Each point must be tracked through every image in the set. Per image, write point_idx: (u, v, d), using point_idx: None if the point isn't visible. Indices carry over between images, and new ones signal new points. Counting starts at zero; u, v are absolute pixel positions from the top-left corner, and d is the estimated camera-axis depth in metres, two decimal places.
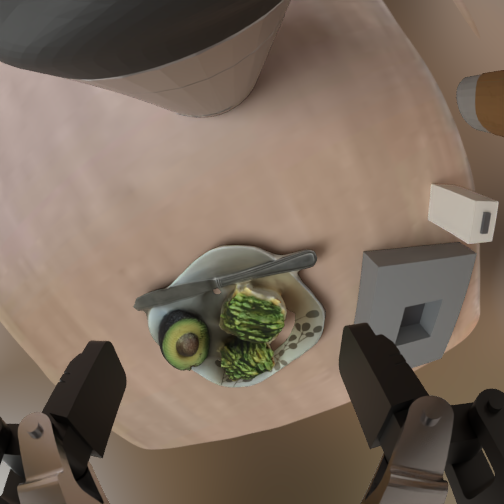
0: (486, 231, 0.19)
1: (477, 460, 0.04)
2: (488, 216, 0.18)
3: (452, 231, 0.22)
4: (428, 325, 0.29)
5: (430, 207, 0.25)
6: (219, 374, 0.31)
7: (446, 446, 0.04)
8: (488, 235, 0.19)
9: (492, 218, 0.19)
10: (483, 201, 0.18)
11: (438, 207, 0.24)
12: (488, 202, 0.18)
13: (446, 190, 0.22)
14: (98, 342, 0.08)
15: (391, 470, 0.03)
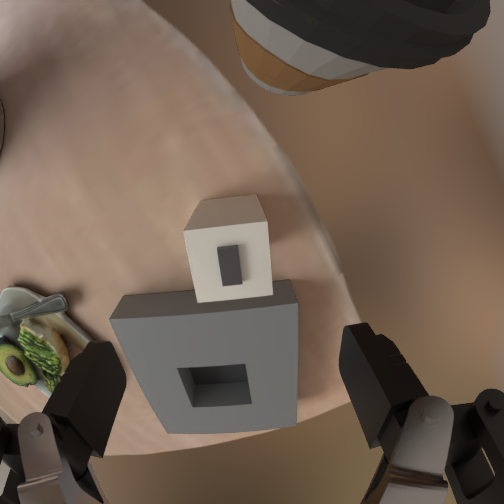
0: (236, 281, 0.14)
1: (477, 460, 0.04)
2: (232, 254, 0.13)
3: None
4: None
5: None
6: None
7: (446, 446, 0.04)
8: (255, 286, 0.14)
9: (254, 254, 0.14)
10: (212, 227, 0.13)
11: None
12: (228, 227, 0.13)
13: (195, 211, 0.17)
14: (98, 342, 0.08)
15: (391, 470, 0.03)
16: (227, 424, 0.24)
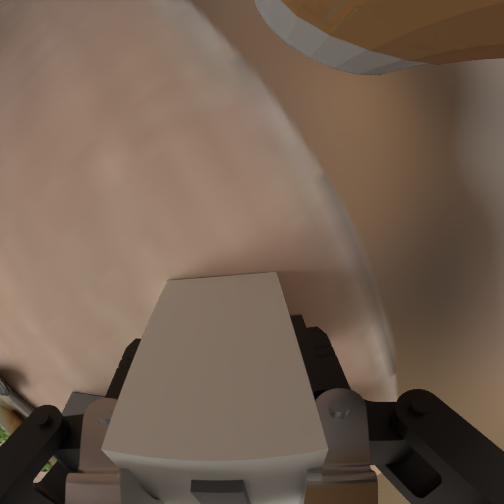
0: None
1: (418, 457, 0.05)
2: (230, 497, 0.04)
3: None
4: None
5: None
6: None
7: (348, 442, 0.04)
8: None
9: (281, 485, 0.04)
10: (172, 456, 0.04)
11: None
12: (217, 463, 0.04)
13: None
14: None
15: (309, 470, 0.04)
16: None
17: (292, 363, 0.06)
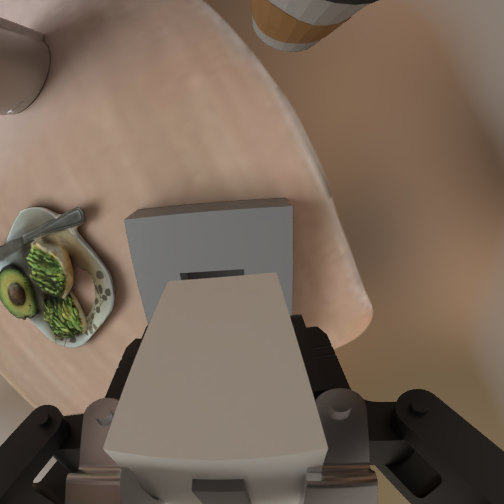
0: None
1: (418, 457, 0.05)
2: (231, 496, 0.04)
3: None
4: None
5: None
6: (53, 331, 0.29)
7: (348, 442, 0.04)
8: None
9: (281, 484, 0.04)
10: (173, 456, 0.04)
11: None
12: (218, 462, 0.04)
13: None
14: None
15: (309, 469, 0.04)
16: None
17: (292, 363, 0.06)
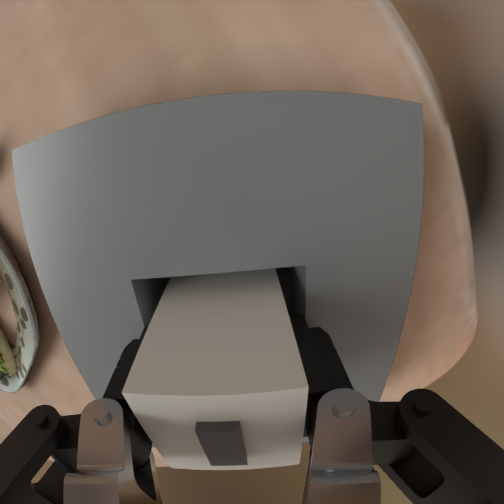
0: (236, 462, 0.06)
1: (421, 457, 0.05)
2: (229, 438, 0.05)
3: None
4: None
5: None
6: None
7: (352, 442, 0.04)
8: (270, 459, 0.06)
9: (272, 431, 0.06)
10: (182, 394, 0.05)
11: None
12: (219, 398, 0.05)
13: None
14: None
15: (312, 469, 0.04)
16: None
17: (281, 324, 0.07)
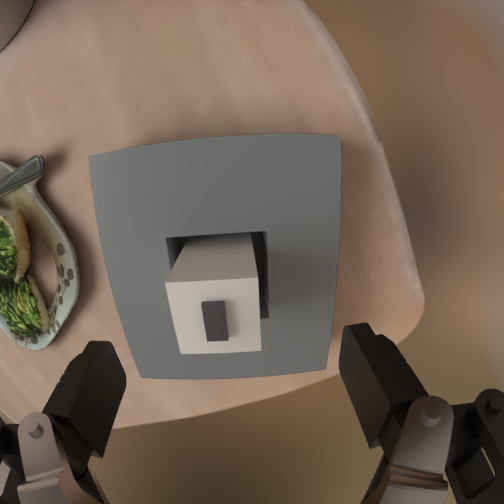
0: (222, 337, 0.12)
1: (477, 460, 0.04)
2: (218, 311, 0.12)
3: None
4: (266, 296, 0.18)
5: None
6: None
7: (446, 446, 0.04)
8: (242, 341, 0.13)
9: (242, 311, 0.12)
10: (196, 281, 0.12)
11: None
12: (214, 282, 0.12)
13: None
14: (98, 342, 0.08)
15: (391, 469, 0.03)
16: (229, 360, 0.18)
17: (249, 257, 0.14)
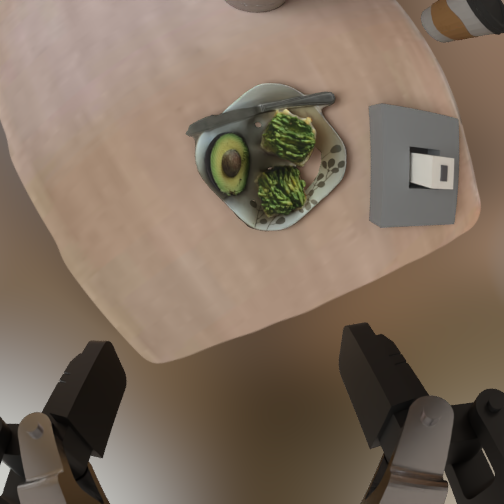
0: (445, 179, 0.27)
1: (477, 460, 0.04)
2: (446, 168, 0.27)
3: (419, 182, 0.30)
4: None
5: None
6: (253, 214, 0.35)
7: (446, 446, 0.04)
8: (448, 184, 0.28)
9: (449, 170, 0.27)
10: (440, 156, 0.27)
11: None
12: (444, 158, 0.27)
13: (413, 153, 0.31)
14: (98, 342, 0.08)
15: (391, 469, 0.03)
16: (422, 213, 0.33)
17: None
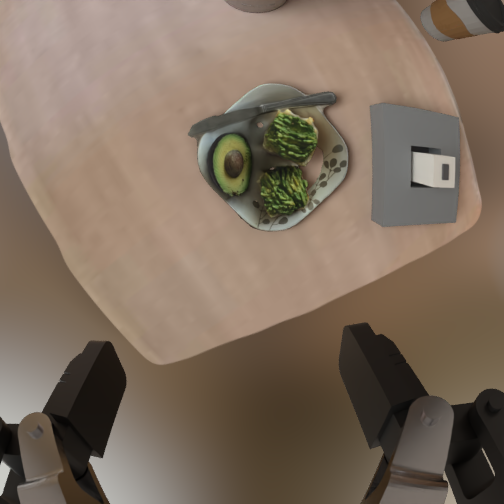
0: (447, 178, 0.27)
1: (477, 460, 0.04)
2: (447, 167, 0.27)
3: (421, 181, 0.30)
4: None
5: None
6: (256, 215, 0.35)
7: (446, 446, 0.04)
8: (450, 182, 0.28)
9: (451, 169, 0.27)
10: (441, 155, 0.27)
11: None
12: (445, 156, 0.27)
13: (414, 153, 0.31)
14: (98, 342, 0.08)
15: (392, 469, 0.03)
16: (424, 211, 0.33)
17: (443, 155, 0.29)
